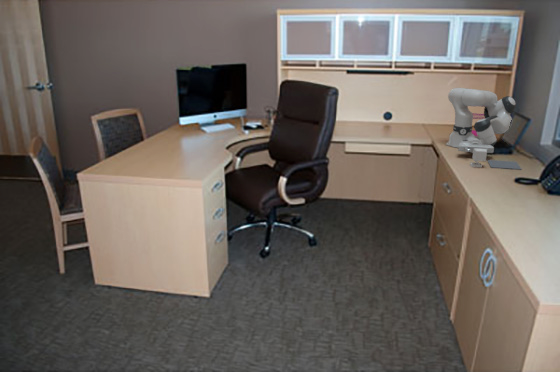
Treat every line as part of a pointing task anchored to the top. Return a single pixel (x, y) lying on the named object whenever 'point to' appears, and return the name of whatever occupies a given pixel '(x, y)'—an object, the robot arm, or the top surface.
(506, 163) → the desk pad
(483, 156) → the security camera
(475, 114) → the file sorter
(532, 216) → the top surface
